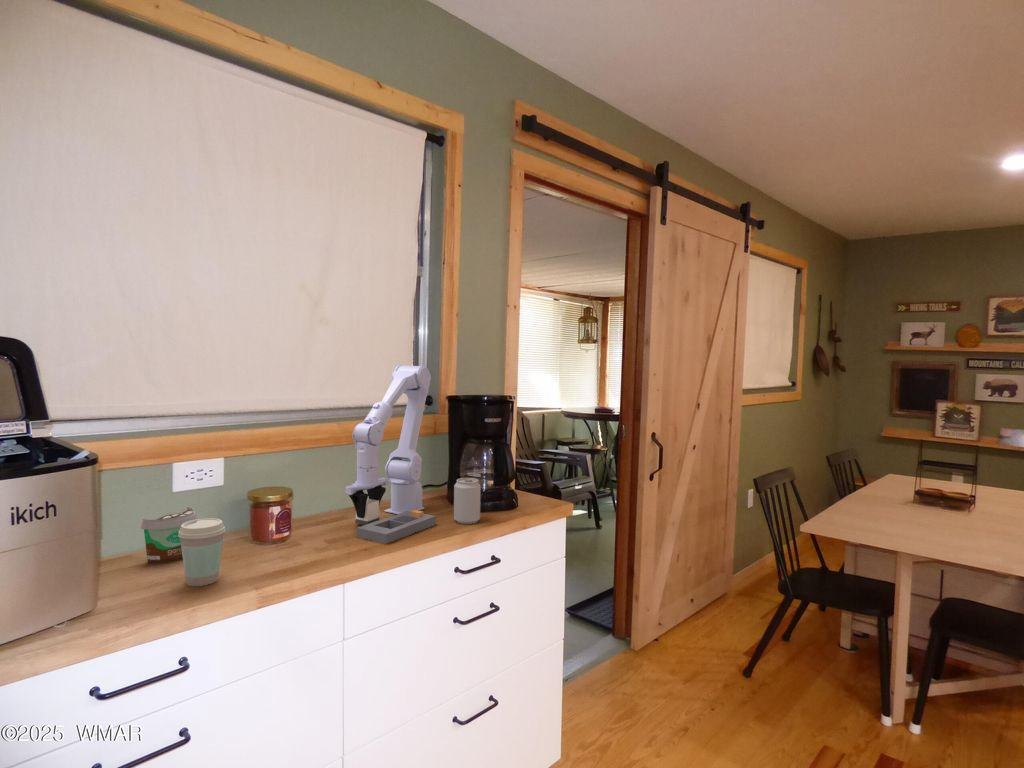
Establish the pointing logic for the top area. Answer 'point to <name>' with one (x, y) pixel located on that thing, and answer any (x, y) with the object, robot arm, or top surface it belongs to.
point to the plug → (369, 512)
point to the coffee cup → (201, 550)
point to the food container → (165, 536)
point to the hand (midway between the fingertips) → (367, 515)
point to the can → (467, 500)
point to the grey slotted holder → (396, 526)
